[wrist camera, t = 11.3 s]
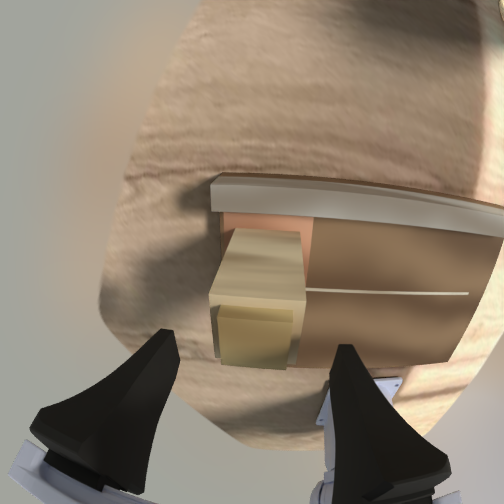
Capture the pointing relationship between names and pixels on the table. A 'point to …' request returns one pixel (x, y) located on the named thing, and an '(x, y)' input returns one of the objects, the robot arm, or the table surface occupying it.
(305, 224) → the board
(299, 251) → the tan block
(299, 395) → the table surface
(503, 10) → the beer glass
